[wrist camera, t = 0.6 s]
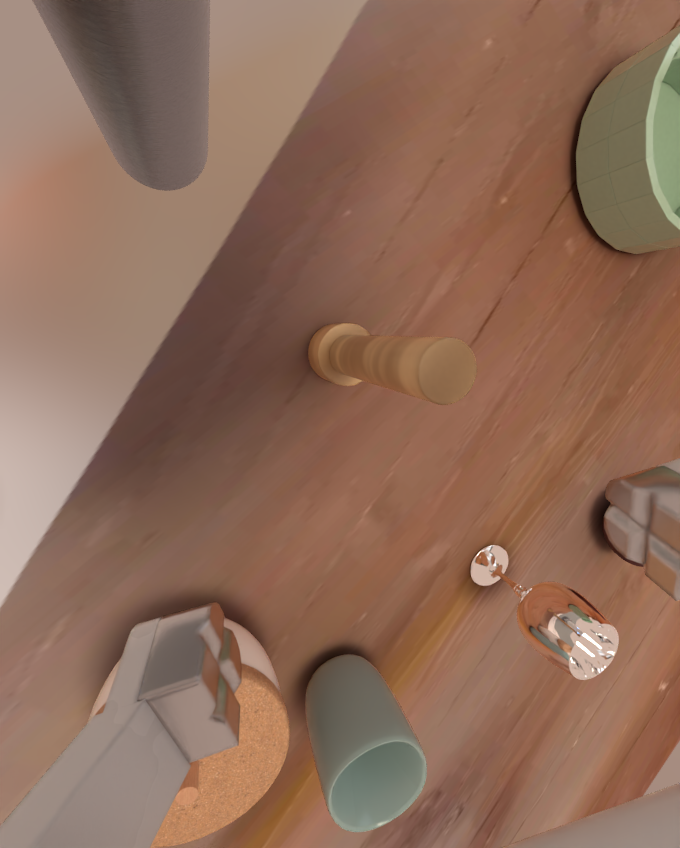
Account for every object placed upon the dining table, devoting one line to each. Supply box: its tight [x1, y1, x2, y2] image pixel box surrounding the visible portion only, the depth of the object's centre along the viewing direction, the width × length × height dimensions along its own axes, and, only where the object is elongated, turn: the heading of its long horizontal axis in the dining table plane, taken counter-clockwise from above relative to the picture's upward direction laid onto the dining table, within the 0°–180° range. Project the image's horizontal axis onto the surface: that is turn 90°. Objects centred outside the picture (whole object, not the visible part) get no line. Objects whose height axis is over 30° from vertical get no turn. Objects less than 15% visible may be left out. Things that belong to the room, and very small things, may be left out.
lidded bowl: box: [88, 618, 290, 848], centre depth 29 cm, size 13×13×11 cm
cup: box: [305, 654, 427, 832], centre depth 34 cm, size 8×8×10 cm
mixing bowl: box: [576, 25, 680, 254], centre depth 34 cm, size 15×15×6 cm
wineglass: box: [470, 545, 619, 680], centre depth 36 cm, size 6×6×12 cm
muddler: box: [308, 323, 477, 405], centre depth 25 cm, size 4×4×16 cm
